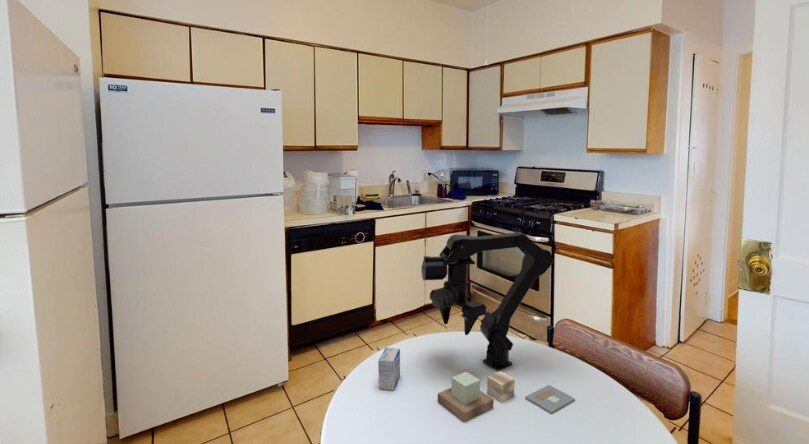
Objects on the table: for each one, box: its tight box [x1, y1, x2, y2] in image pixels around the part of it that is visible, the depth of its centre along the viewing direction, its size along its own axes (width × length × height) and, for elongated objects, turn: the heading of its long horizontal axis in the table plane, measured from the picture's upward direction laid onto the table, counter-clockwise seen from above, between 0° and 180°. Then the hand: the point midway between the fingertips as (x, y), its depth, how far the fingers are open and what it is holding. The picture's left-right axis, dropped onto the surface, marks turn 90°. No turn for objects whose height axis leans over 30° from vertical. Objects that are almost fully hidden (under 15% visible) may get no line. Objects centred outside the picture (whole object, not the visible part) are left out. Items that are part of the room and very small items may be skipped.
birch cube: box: [486, 370, 516, 403], centre depth 112 cm, size 5×5×5 cm
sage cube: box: [451, 371, 481, 405], centre depth 107 cm, size 5×5×5 cm
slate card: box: [524, 384, 576, 415], centre depth 110 cm, size 10×8×1 cm
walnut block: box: [437, 387, 495, 423], centre depth 108 cm, size 10×10×3 cm
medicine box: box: [377, 347, 401, 391], centre depth 118 cm, size 8×4×9 cm, turn 169°
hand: (456, 329), depth 125 cm, fingers open, 9 cm apart
